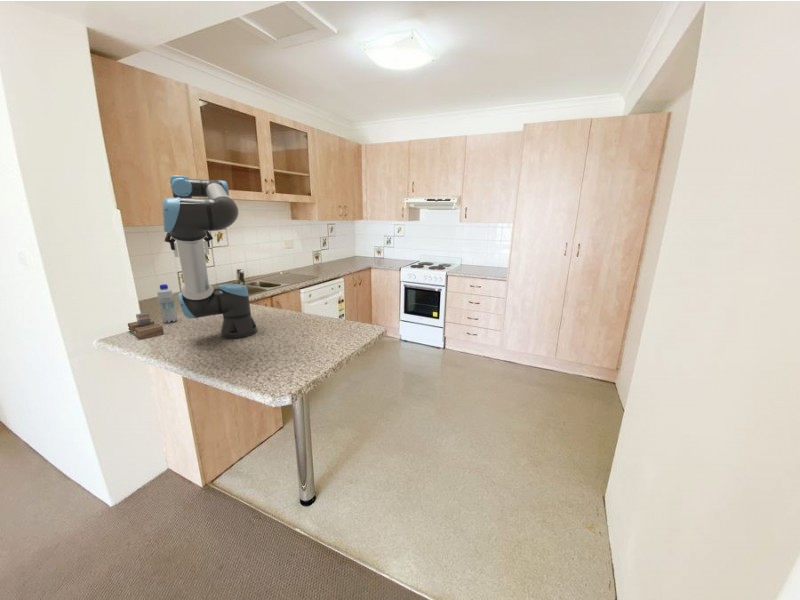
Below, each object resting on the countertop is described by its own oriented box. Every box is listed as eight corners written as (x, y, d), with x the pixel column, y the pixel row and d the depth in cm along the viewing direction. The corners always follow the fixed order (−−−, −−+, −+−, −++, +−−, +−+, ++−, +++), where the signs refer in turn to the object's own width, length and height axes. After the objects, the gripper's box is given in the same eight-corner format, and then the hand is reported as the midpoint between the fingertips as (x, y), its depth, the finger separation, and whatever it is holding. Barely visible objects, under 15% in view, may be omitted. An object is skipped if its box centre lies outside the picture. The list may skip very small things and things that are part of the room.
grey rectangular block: (152, 330, 154) (149, 314, 152) (141, 332, 151) (138, 316, 149) (149, 328, 157) (146, 312, 155) (139, 330, 154) (135, 314, 152)
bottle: (164, 320, 172) (156, 283, 167) (179, 319, 174) (172, 282, 169) (161, 324, 166) (153, 286, 161) (176, 322, 168) (169, 284, 163)
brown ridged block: (164, 334, 152) (162, 326, 151) (140, 339, 145) (138, 331, 144) (151, 326, 163) (150, 318, 162) (129, 331, 156) (127, 323, 155)
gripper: (209, 210, 166) (215, 252, 171) (150, 210, 147) (159, 257, 152) (216, 210, 161) (222, 253, 166) (156, 210, 142) (165, 258, 147)
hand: (192, 255), depth 159 cm, fingers open, 13 cm apart
